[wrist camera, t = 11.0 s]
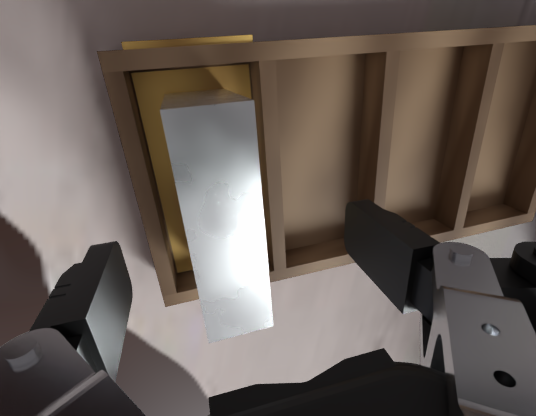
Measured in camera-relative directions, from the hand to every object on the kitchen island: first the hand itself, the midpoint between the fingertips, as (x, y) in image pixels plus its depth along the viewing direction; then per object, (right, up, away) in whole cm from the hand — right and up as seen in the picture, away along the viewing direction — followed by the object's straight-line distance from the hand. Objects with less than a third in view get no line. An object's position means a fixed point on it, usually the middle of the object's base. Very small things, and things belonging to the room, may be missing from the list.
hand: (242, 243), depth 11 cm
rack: (+7, +5, +10) cm, 13 cm away
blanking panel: (-3, +3, +7) cm, 8 cm away
